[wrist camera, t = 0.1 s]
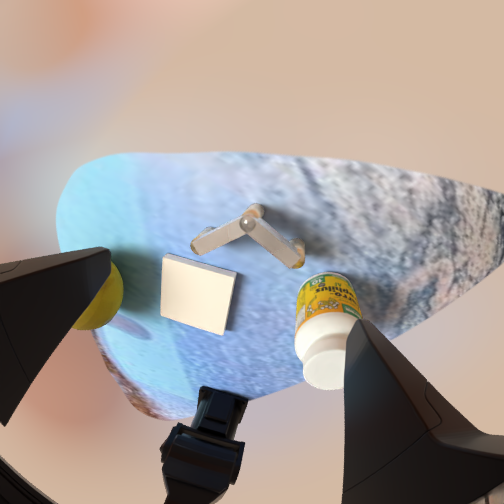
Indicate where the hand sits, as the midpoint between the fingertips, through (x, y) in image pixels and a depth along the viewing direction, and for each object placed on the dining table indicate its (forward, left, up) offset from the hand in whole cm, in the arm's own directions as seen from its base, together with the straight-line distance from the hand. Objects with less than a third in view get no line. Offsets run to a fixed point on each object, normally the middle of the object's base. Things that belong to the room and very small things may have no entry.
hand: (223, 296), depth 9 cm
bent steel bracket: (-3, +1, -15) cm, 15 cm away
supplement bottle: (-7, -7, -15) cm, 18 cm away
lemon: (-12, +16, -15) cm, 25 cm away
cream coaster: (-11, +5, -15) cm, 19 cm away
